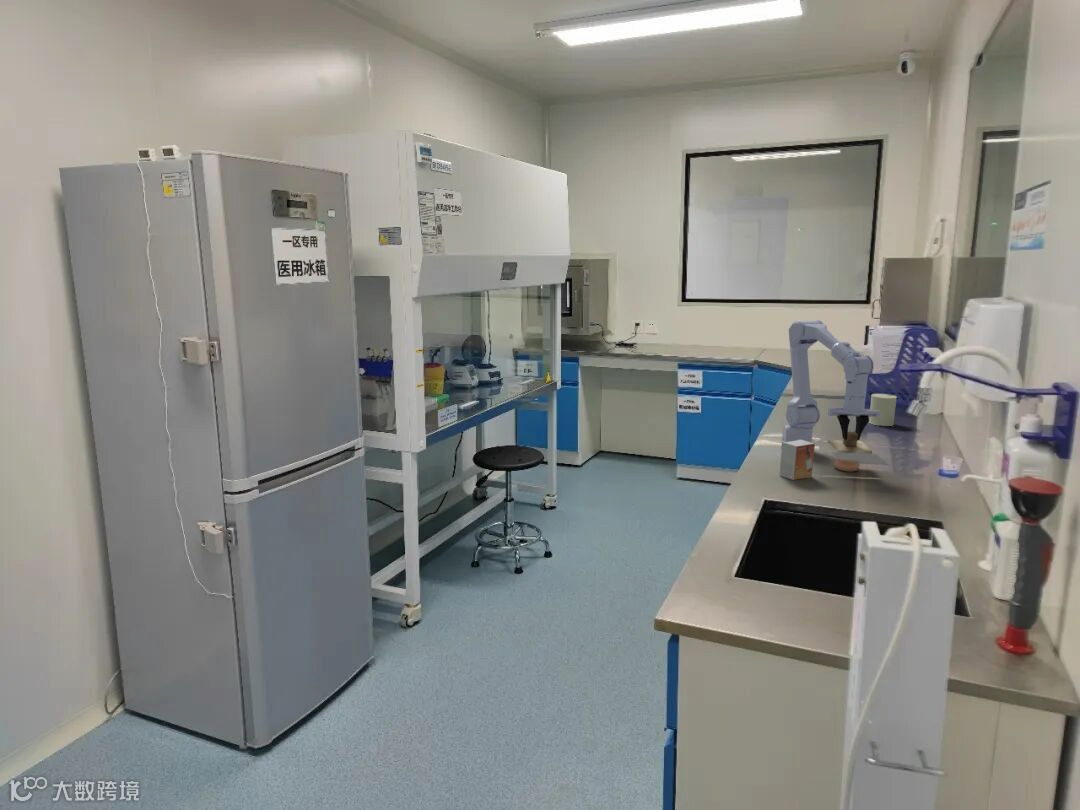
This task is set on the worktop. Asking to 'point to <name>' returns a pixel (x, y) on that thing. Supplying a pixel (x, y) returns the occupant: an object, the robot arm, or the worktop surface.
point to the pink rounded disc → (847, 464)
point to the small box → (797, 459)
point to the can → (883, 409)
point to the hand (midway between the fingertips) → (850, 439)
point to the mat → (862, 458)
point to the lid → (850, 445)
